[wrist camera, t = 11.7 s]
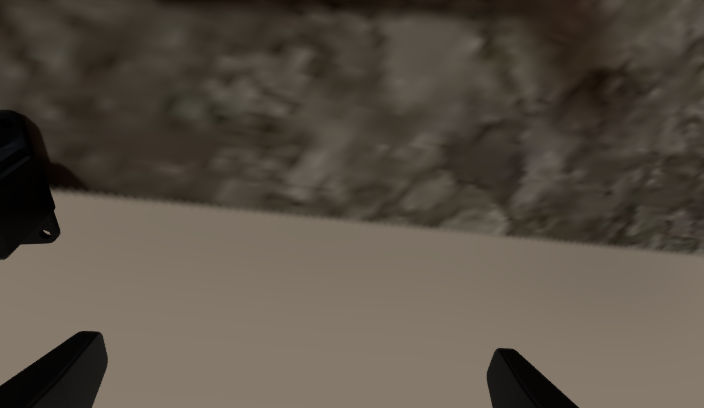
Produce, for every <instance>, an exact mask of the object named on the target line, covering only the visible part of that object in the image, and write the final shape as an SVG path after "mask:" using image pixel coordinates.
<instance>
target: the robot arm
mask: <svg viewBox="0 0 704 408" xmlns="http://www.w3.org/2000/svg"><path fill="white" fill-rule="evenodd" d="M5 118H6V119H9V120H10V121H11V122H12V123H13V127H11V126H9V125H7V124H6V122H5ZM54 209H55V204H54V201H53V198H52V195H51V192H50V188H49V185H48V182H47V179H46V176H45V173H44V170H43V167H42V164H41V161H40V160H39V159H38V158H37V157H36V155H35V152H34V149H33V146H32V143H31V140H30V137H29V134H28V131H27V128H26V125H25V122H24V120H23V118H22V117H21V116H20V115H19V114H18V113H16V112H14V111H11V110H0V260H4V259H6V258H8V257H9V255H11V254H12V253H13V252H14V250H16V248H17V247H18V246H19V245H20V244H44V243H52V242H53V241H55V240H56V239H57V238H58V237H59V235H60V228H59V225H58V222H57V219H56V216H55V213H54ZM43 230H46V231H48V232H50V234H51V235H48V234H46V233H45V232H44V231H43ZM107 363H108V357H107V352H106V348H105V344H104V339H103V336H102V334H101V333H100V332H95V331H81V332H78V333H77V334H75V335H73V336H72V337H71V338H69V339H68V340H66V341H65V342H63V343H62V344H61V345H59V346H57V347H56V348H55V349H53V350H52V351H50V352H49V353H47V354H46V355H45V356H43V357H41V358H40V359H39V360H37V361H36V362H34V363H33V364H31V365H30V366H28V367H27V368H25V369H24V370H23V371H21V372H20V373H18V374H17V375H15V376H14V377H12V378H11V379H10V380H8V381H7V382H5V383H4V384H2V385H1V386H0V408H92V406H93V403H94V400H95V398H96V395H97V392H98V390H99V387H100V384H101V382H102V379H103V376H104V374H105V371H106V368H107ZM487 383H488V388H489V393H490V397H491V401H492V406H493V408H579V407H578V406H576V405H575V404H574V403H573V402H572V401H571V400H570V399H569V398H568V397H567V396H566V395H564V394H563V393H562V392H561V391H560V390H559V389H558V388H557V387H556V386H555V385H553V384H552V383H551V382H550V381H549V380H548V379H547V378H546V377H545V376H544V375H542V374H541V373H540V372H539V371H538V370H537V369H536V368H535V367H534V366H532V365H531V364H530V363H529V362H528V361H527V360H526V359H525V358H523V356H522V355H520V354H519V353H518V352H517V351H516V350H514V349H508V348H507V349H506V348H498V349H496V351H495V352H494V355H493V357H492V360H491V363H490V366H489V368H488V371H487Z"/></svg>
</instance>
